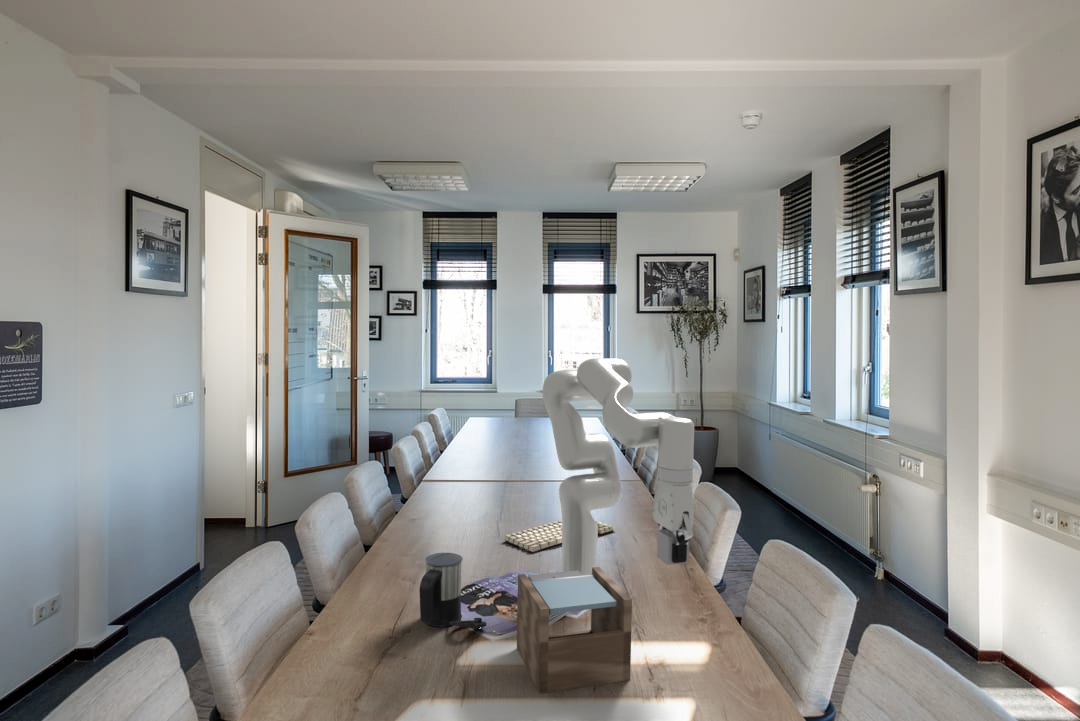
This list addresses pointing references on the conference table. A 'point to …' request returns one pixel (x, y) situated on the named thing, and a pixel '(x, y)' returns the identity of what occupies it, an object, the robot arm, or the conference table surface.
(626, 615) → the stand
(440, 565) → the milk frother
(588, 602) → the trapdoor
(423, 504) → the conference table surface
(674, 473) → the robot arm
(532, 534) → the mechanical keyboard
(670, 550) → the grey cube-like block
